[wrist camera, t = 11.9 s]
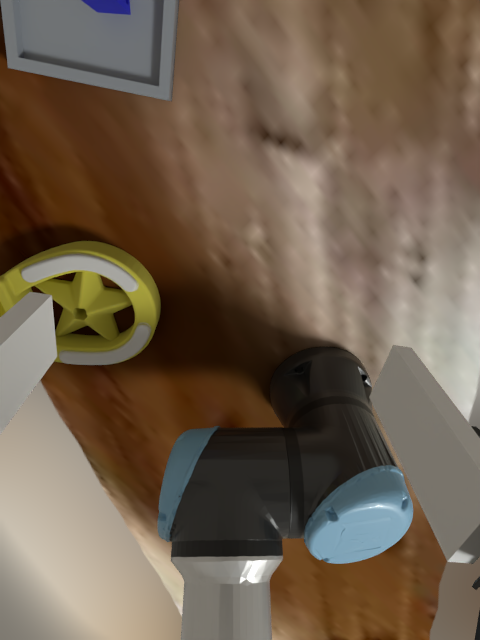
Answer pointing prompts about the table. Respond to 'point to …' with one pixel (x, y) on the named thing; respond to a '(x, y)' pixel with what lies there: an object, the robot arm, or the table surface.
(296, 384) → the robot arm
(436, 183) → the table surface
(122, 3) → the blue long stepped piece
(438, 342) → the table surface
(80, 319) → the yellow rounded low piece
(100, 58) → the tray
